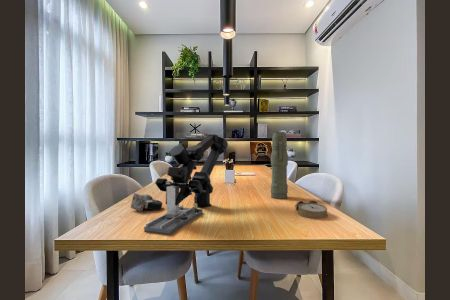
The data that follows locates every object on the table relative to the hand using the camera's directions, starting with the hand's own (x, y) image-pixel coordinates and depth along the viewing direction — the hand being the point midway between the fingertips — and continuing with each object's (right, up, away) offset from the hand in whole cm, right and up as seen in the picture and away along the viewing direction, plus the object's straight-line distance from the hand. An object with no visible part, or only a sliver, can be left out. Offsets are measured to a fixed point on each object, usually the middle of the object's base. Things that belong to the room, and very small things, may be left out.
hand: (171, 204), depth 91 cm
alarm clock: (+56, -7, +11) cm, 57 cm away
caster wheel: (-14, -6, +18) cm, 24 cm away
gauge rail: (+2, -7, +1) cm, 7 cm away
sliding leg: (+2, -5, +1) cm, 5 cm away
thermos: (+49, -5, +40) cm, 64 cm away
